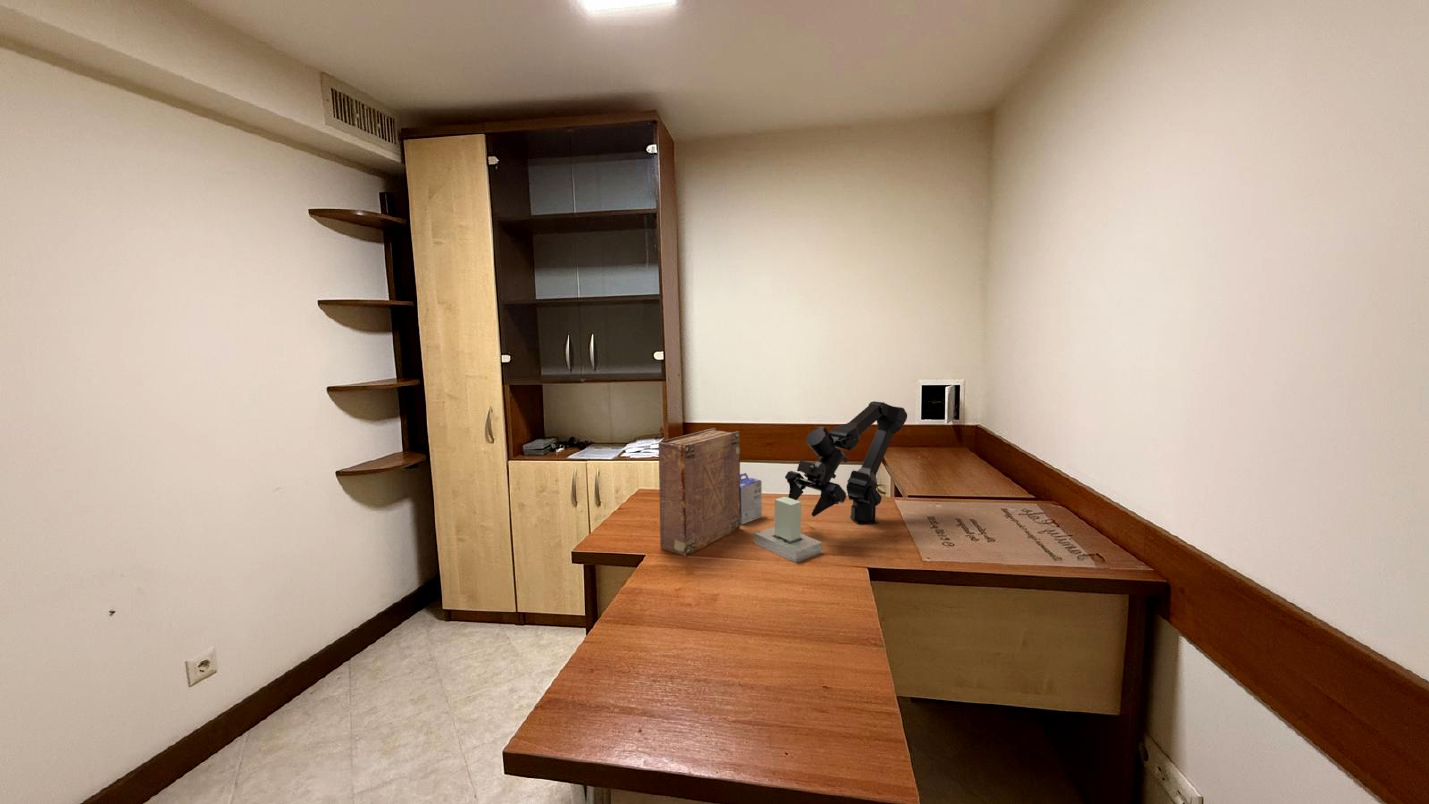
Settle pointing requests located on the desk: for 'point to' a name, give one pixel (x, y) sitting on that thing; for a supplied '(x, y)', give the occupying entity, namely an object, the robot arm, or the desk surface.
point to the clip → (788, 519)
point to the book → (698, 489)
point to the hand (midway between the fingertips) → (800, 511)
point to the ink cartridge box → (750, 499)
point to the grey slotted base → (788, 545)
